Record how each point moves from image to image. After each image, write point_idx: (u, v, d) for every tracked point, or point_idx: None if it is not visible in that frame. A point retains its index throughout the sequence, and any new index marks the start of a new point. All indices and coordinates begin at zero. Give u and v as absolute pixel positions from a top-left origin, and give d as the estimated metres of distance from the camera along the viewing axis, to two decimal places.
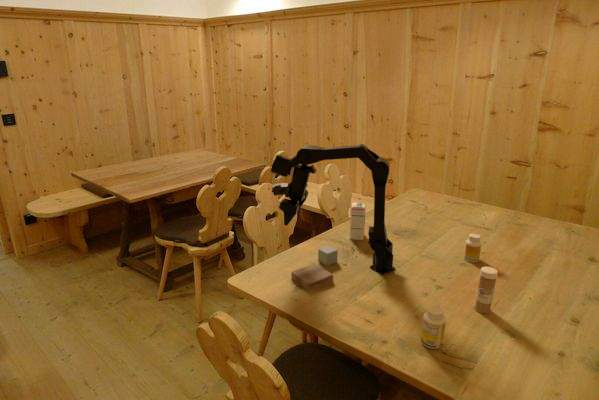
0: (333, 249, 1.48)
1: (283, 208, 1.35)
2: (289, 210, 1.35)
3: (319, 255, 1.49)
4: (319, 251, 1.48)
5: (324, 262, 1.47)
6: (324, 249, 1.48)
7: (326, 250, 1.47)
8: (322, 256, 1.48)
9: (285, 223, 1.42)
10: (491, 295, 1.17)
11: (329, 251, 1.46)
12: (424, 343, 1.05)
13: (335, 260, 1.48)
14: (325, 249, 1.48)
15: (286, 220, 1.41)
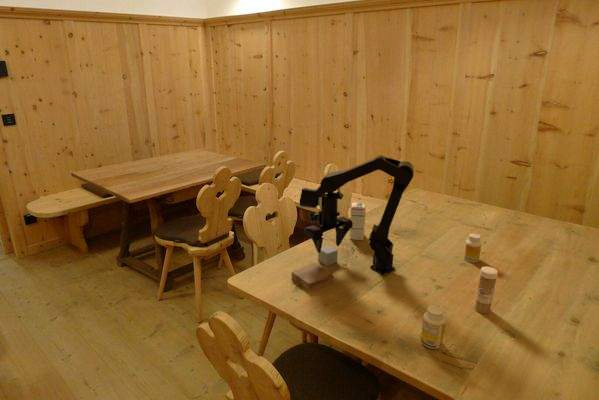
0: (333, 249, 1.48)
1: (306, 234, 1.41)
2: (309, 236, 1.39)
3: (319, 255, 1.49)
4: None
5: (324, 262, 1.47)
6: (324, 249, 1.48)
7: (326, 250, 1.47)
8: (322, 256, 1.47)
9: (317, 250, 1.45)
10: (491, 295, 1.17)
11: (329, 251, 1.46)
12: (424, 343, 1.05)
13: (335, 260, 1.48)
14: (325, 249, 1.48)
15: (316, 247, 1.44)
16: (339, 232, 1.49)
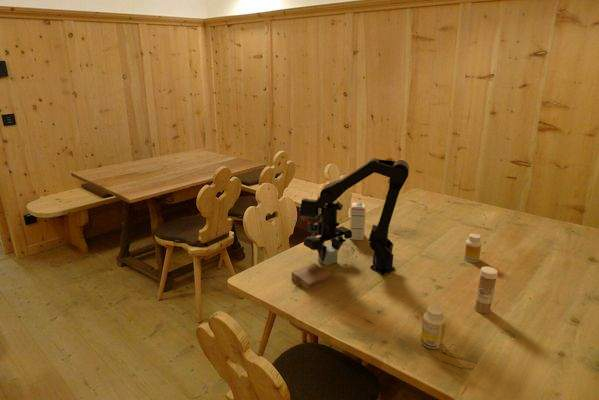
0: (333, 249, 1.48)
1: (305, 244, 1.42)
2: (309, 246, 1.41)
3: None
4: None
5: (324, 262, 1.47)
6: None
7: (326, 250, 1.47)
8: None
9: (321, 259, 1.48)
10: (491, 295, 1.17)
11: (329, 251, 1.46)
12: (424, 343, 1.05)
13: (335, 260, 1.48)
14: None
15: (320, 255, 1.46)
16: (335, 243, 1.49)
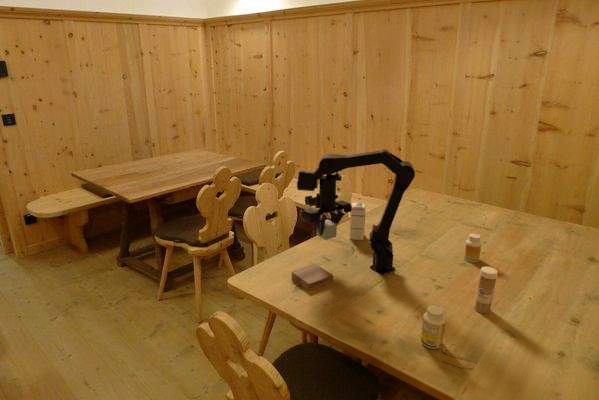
0: (332, 223, 1.43)
1: (303, 217, 1.37)
2: (307, 219, 1.35)
3: None
4: None
5: (322, 236, 1.42)
6: None
7: (324, 224, 1.42)
8: None
9: (319, 233, 1.42)
10: (491, 295, 1.17)
11: (328, 225, 1.41)
12: (424, 343, 1.05)
13: (334, 234, 1.43)
14: None
15: (318, 229, 1.41)
16: (334, 217, 1.44)
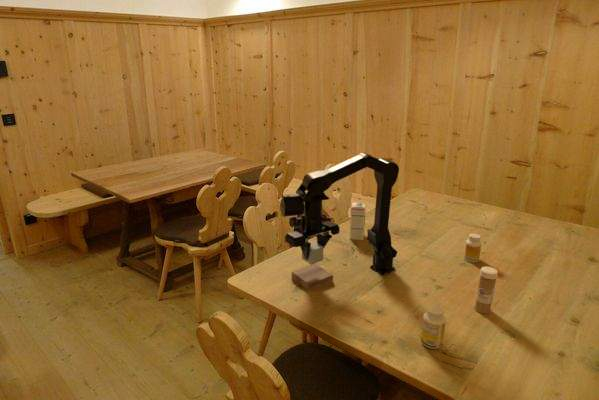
0: (318, 246, 1.33)
1: (287, 241, 1.27)
2: (291, 243, 1.26)
3: None
4: None
5: (308, 260, 1.32)
6: None
7: (310, 247, 1.32)
8: None
9: (305, 257, 1.32)
10: (491, 295, 1.17)
11: (314, 248, 1.31)
12: (424, 343, 1.05)
13: (321, 258, 1.33)
14: None
15: (304, 253, 1.31)
16: (320, 240, 1.34)
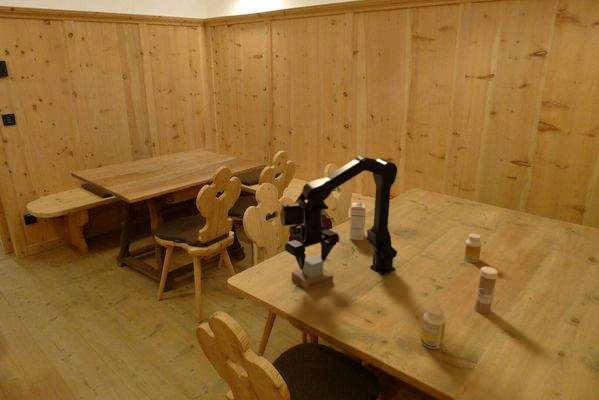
0: (318, 260, 1.34)
1: (287, 250, 1.28)
2: (291, 252, 1.27)
3: None
4: None
5: (308, 274, 1.34)
6: (308, 260, 1.34)
7: (310, 261, 1.33)
8: (306, 267, 1.34)
9: (300, 267, 1.32)
10: (491, 295, 1.17)
11: (314, 262, 1.33)
12: (424, 343, 1.05)
13: (320, 272, 1.35)
14: (309, 260, 1.34)
15: (299, 264, 1.31)
16: (324, 247, 1.36)
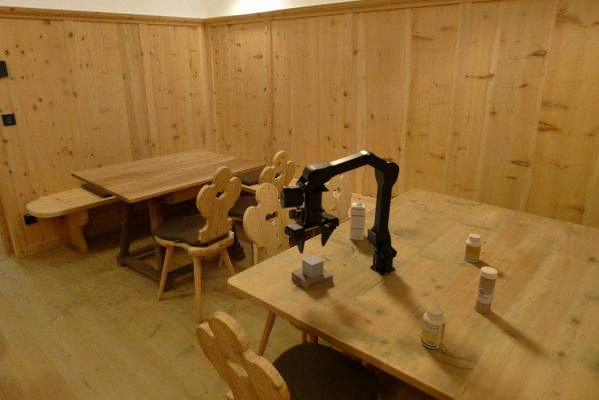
0: (319, 260, 1.34)
1: (286, 233, 1.26)
2: (290, 235, 1.25)
3: (303, 266, 1.35)
4: (303, 262, 1.35)
5: (309, 274, 1.34)
6: (309, 260, 1.34)
7: (310, 261, 1.33)
8: (306, 268, 1.34)
9: (300, 251, 1.30)
10: (491, 295, 1.17)
11: (314, 262, 1.33)
12: (424, 343, 1.05)
13: (321, 272, 1.35)
14: (310, 260, 1.34)
15: (299, 247, 1.29)
16: (324, 231, 1.34)
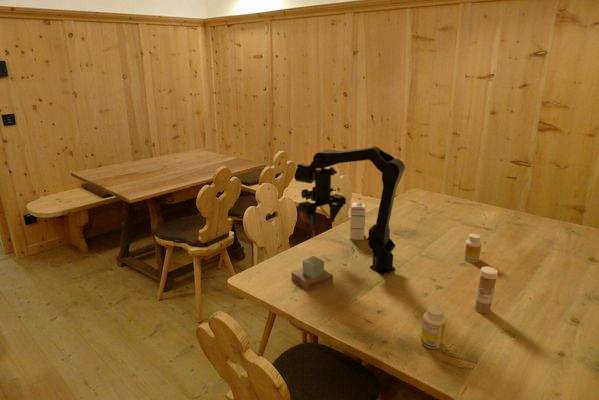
0: (319, 260, 1.34)
1: (300, 209, 1.44)
2: (303, 211, 1.43)
3: (304, 267, 1.35)
4: (304, 263, 1.34)
5: (310, 275, 1.33)
6: (309, 261, 1.34)
7: (311, 262, 1.33)
8: (307, 268, 1.34)
9: (311, 226, 1.48)
10: (491, 295, 1.17)
11: (315, 263, 1.32)
12: (424, 343, 1.05)
13: (321, 272, 1.35)
14: (310, 261, 1.34)
15: (310, 222, 1.47)
16: (333, 208, 1.52)
